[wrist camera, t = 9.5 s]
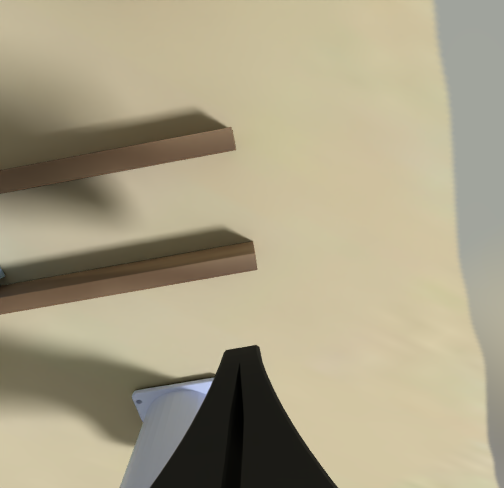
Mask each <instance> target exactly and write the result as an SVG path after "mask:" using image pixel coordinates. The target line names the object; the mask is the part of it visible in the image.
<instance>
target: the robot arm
mask: <svg viewBox="0 0 504 488" xmlns="http://www.w3.org/2000/svg"><path fill="white" fill-rule="evenodd" d="M132 399H133V402H134V404H135V406H136V408H137V411H138V413H139V415H140V417H141V420H142V422H143V424H142V427H141V430H140V433H139V436H138V438H137V441H136V444H135V447H134V449H133V452H132V455H131V458H130V460H129V463H128V466H127V469H126V471H125V474H124V477H123V480H122V482H121V485H120V488H338V487H337V486H336V485H335V483H334V482H333V481H332V480H331V478H330V477H329V476H328V474H327V473H326V471H325V470H324V469H323V467H322V466H321V465H320V463H319V462H318V461H317V459H316V458H315V457H314V455H313V454H312V452H311V451H310V450H309V448H308V447H307V445H306V444H305V442H304V441H303V439H302V438H301V436H300V435H299V433H298V431H297V430H296V428H295V427H294V425H293V423H292V422H291V420H290V418H289V417H288V415H287V413H286V412H285V410H284V408H283V406H282V404H281V403H280V401H279V399H278V397H277V395H276V393H275V391H274V389H273V387H272V384H271V382H270V380H269V378H268V376H267V373H266V371H265V368H264V365H263V362H262V358H261V353H260V348H259V347H258V346H257V345H254V346H248V347H242V348H236V349H230V350H226V351H225V352H224V354H223V357H222V360H221V363H220V365H219V368H218V370H217V373H216V375H215V377H214V378H208V379H202V380H196V381H190V382H183V383H177V384H171V385H165V386H159V387H153V388H147V389H141V390H136V391H134V392H133V395H132Z"/></svg>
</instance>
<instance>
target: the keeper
mask: <svg viewBox="0 0 504 488" xmlns="http://www.w3.org/2000/svg"><path fill="white" fill-rule="evenodd" d="M4 276H5V274H4V273H3V271H2V269H1V267H0V278H2V277H4Z"/></svg>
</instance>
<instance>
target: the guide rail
mask: <svg viewBox="0 0 504 488" xmlns="http://www.w3.org/2000/svg"><path fill="white" fill-rule="evenodd" d="M233 150H236V146H235V141H234V136H233V130H232V128H231V127H229V128H223V129H218V130H212V131H207V132H202V133H196V134H191V135H186V136H180V137H175V138H170V139H164V140H159V141H154V142H148V143H143V144H138V145H132V146H127V147H122V148H116V149H111V150H106V151H100V152H95V153H90V154H84V155H79V156H74V157H68V158H63V159H58V160H52V161H47V162H42V163H36V164H31V165H26V166H20V167H15V168H10V169H4V170H0V194H1V193H6V192H12V191H17V190H23V189H28V188H33V187H39V186H44V185H50V184H55V183H60V182H66V181H71V180H77V179H82V178H87V177H93V176H98V175H104V174H109V173H114V172H120V171H125V170H131V169H136V168H141V167H147V166H152V165H158V164H163V163H168V162H174V161H179V160H185V159H190V158H195V157H201V156H206V155H212V154H217V153H223V152H228V151H233ZM253 270H257V263H256V256H255V250H254V245H253V241H251V242H246V243H240V244H234V245H229V246H223V247H217V248H212V249H206V250H200V251H195V252H189V253H183V254H178V255H172V256H166V257H161V258H155V259H149V260H144V261H138V262H132V263H127V264H121V265H115V266H110V267H104V268H98V269H93V270H87V271H81V272H76V273H70V274H65V275H59V276H53V277H48V278H42V279H36V280H31V281H25V282H19V283H14V284H8V285H2V286H0V315H1V314H6V313H12V312H18V311H24V310H29V309H35V308H41V307H47V306H52V305H58V304H64V303H69V302H75V301H81V300H87V299H92V298H98V297H104V296H110V295H115V294H121V293H127V292H133V291H138V290H144V289H150V288H156V287H161V286H167V285H173V284H179V283H184V282H190V281H196V280H202V279H207V278H213V277H219V276H224V275H230V274H236V273H242V272H247V271H253Z"/></svg>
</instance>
